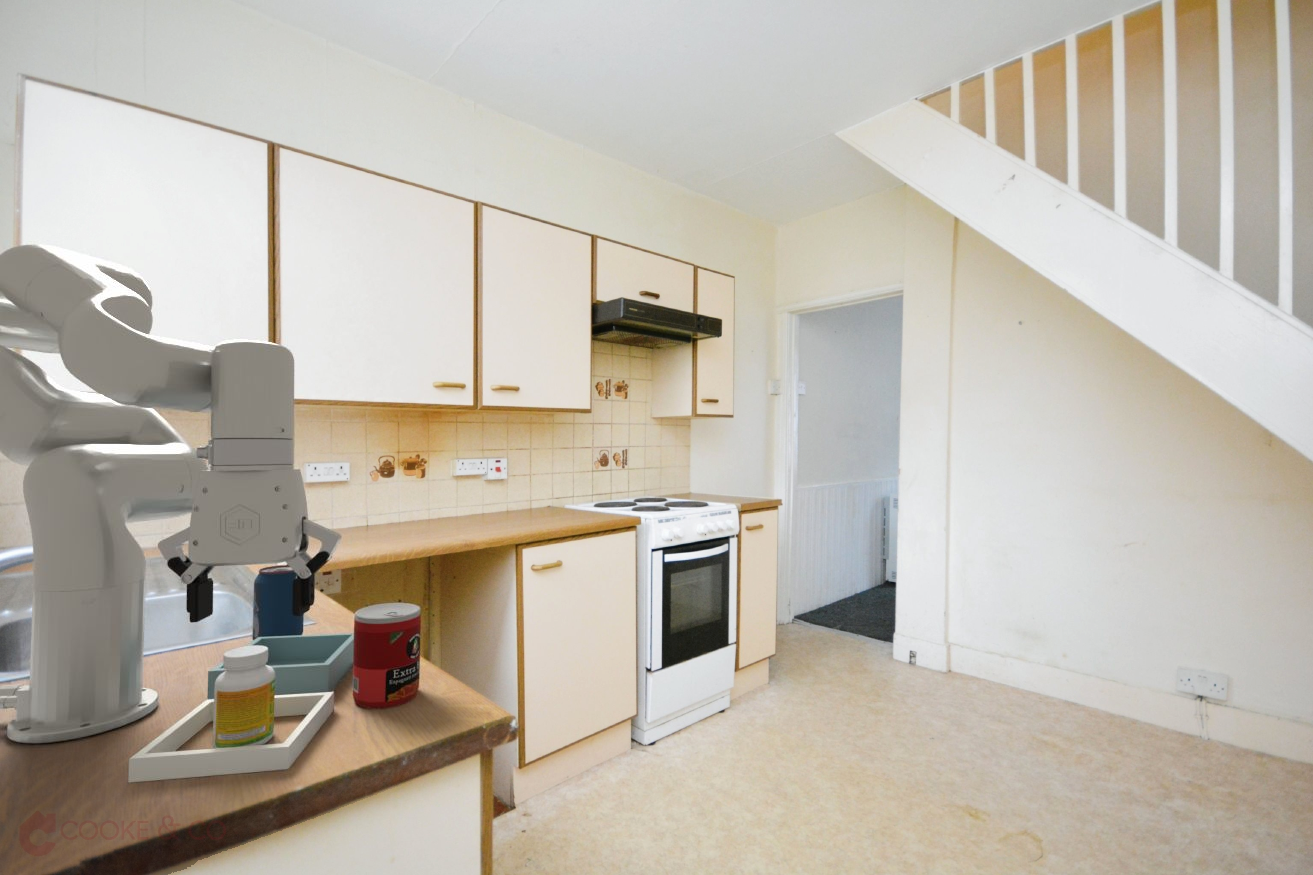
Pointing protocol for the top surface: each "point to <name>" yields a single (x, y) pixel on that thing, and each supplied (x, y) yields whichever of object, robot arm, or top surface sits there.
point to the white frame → (168, 764)
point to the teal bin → (302, 662)
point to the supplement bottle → (244, 699)
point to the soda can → (275, 603)
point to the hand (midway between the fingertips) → (252, 615)
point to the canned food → (386, 654)
